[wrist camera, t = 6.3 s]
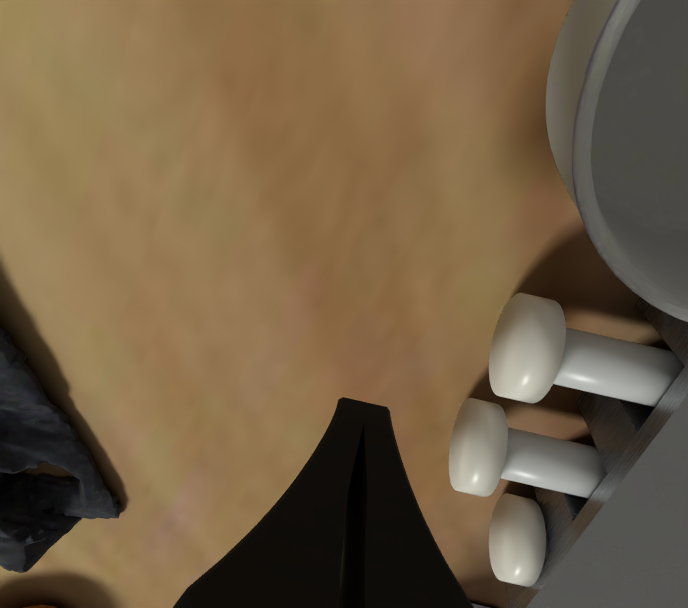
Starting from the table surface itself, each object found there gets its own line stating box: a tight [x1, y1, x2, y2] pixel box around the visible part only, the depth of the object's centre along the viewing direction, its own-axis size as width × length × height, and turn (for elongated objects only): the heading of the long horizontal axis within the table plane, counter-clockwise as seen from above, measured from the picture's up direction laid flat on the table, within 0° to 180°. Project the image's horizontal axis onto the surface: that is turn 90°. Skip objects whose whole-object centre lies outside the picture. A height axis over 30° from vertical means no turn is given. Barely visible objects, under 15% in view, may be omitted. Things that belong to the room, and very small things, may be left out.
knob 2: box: [489, 293, 685, 407], centre depth 18 cm, size 4×8×4 cm, turn 79°
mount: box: [505, 297, 688, 608], centre depth 21 cm, size 18×10×5 cm, turn 169°
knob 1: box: [489, 494, 551, 587], centre depth 24 cm, size 4×8×4 cm, turn 79°
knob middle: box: [449, 398, 608, 498], centre depth 21 cm, size 4×8×4 cm, turn 79°
